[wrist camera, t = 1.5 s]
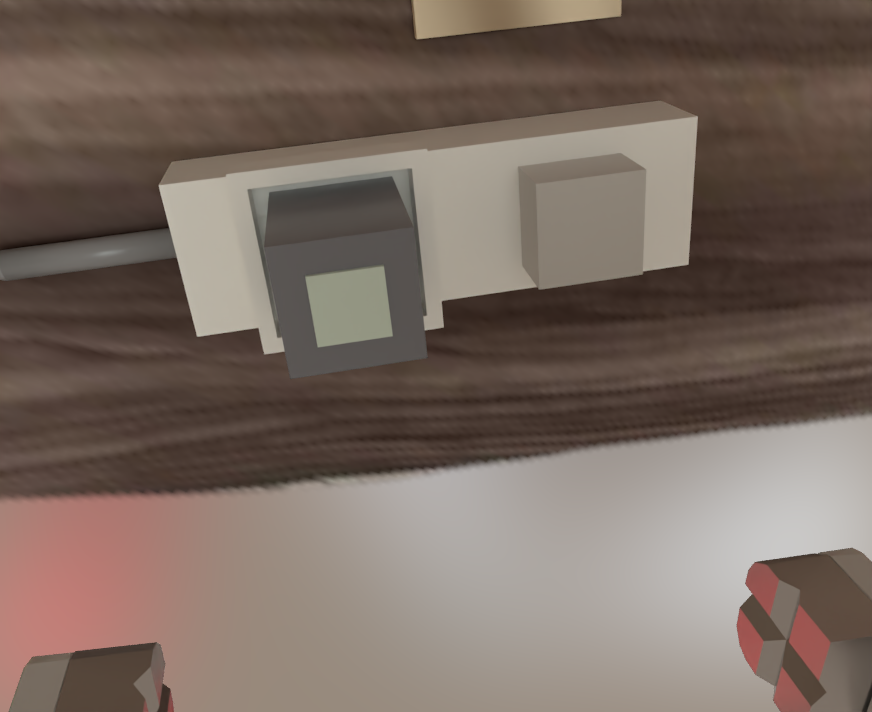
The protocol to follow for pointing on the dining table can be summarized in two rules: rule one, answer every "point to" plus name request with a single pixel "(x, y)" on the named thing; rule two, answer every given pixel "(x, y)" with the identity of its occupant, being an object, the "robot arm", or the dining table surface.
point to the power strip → (428, 210)
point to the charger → (344, 276)
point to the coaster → (502, 14)
